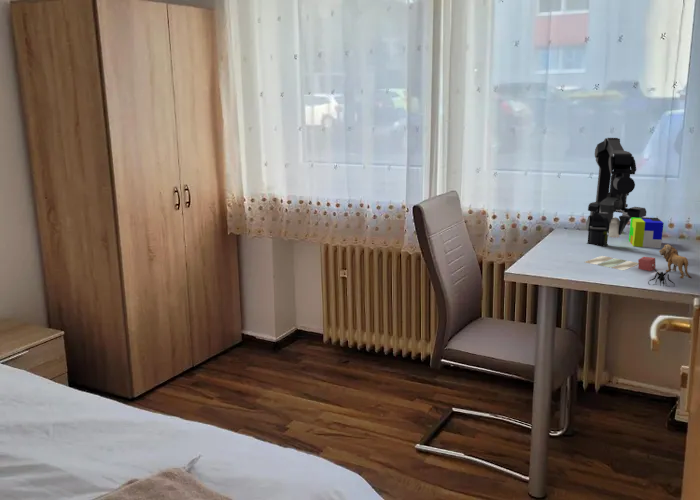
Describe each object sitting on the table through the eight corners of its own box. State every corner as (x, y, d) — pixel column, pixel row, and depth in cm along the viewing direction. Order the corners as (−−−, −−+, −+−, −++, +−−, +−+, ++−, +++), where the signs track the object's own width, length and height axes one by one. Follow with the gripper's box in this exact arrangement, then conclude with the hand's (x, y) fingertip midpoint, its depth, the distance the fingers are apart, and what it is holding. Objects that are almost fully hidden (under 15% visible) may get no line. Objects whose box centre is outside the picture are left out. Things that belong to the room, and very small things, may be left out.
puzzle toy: (660, 247, 263) (663, 222, 261) (633, 246, 265) (636, 221, 263) (654, 242, 273) (657, 217, 270) (628, 240, 275) (631, 216, 272)
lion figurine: (654, 268, 234) (657, 243, 232) (667, 267, 236) (670, 242, 233) (685, 280, 221) (688, 254, 218) (698, 279, 222) (702, 253, 220)
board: (582, 264, 240) (582, 262, 240) (601, 257, 249) (602, 255, 249) (623, 273, 229) (623, 270, 229) (641, 265, 238) (642, 263, 238)
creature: (674, 292, 212) (673, 280, 219) (677, 277, 210) (676, 265, 217) (647, 289, 215) (647, 277, 222) (649, 274, 213) (649, 263, 219)
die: (638, 259, 231) (651, 261, 228) (644, 256, 233) (656, 257, 230) (638, 271, 232) (651, 273, 229) (644, 268, 235) (656, 269, 231)
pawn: (606, 236, 236) (608, 217, 235) (611, 235, 239) (613, 216, 237) (616, 238, 234) (618, 218, 232) (621, 236, 236) (623, 217, 235)
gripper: (581, 188, 234) (578, 232, 238) (633, 195, 220) (629, 241, 224) (597, 185, 241) (594, 228, 245) (649, 191, 228) (644, 236, 231)
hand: (614, 233), depth 236 cm, fingers closed on pawn, 4 cm apart
